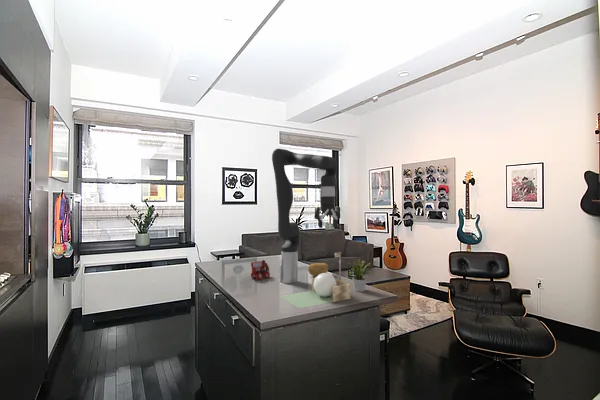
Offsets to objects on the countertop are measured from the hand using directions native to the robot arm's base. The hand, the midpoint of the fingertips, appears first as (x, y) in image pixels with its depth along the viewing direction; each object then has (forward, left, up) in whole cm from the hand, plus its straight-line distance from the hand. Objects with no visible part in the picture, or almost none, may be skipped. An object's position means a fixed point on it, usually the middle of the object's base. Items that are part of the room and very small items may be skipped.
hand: (327, 227), depth 164 cm
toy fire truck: (-45, +2, -32) cm, 56 cm away
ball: (+4, -11, -26) cm, 29 cm away
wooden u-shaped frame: (+5, -6, -32) cm, 33 cm away
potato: (-18, +24, -32) cm, 44 cm away
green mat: (0, -15, -32) cm, 35 cm away
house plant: (+14, +6, -32) cm, 36 cm away
